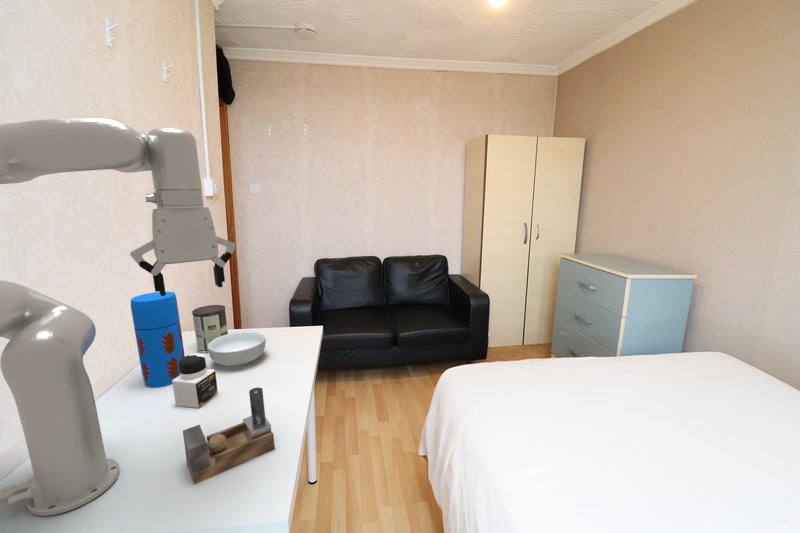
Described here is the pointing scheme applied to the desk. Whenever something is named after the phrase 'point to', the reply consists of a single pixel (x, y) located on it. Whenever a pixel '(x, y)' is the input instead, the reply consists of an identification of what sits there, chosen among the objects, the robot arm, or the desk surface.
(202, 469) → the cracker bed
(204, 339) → the coffee can
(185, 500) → the desk surface
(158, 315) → the thermos
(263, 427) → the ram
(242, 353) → the cereal bowl
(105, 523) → the desk surface
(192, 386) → the medicine bottle
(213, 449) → the nut
